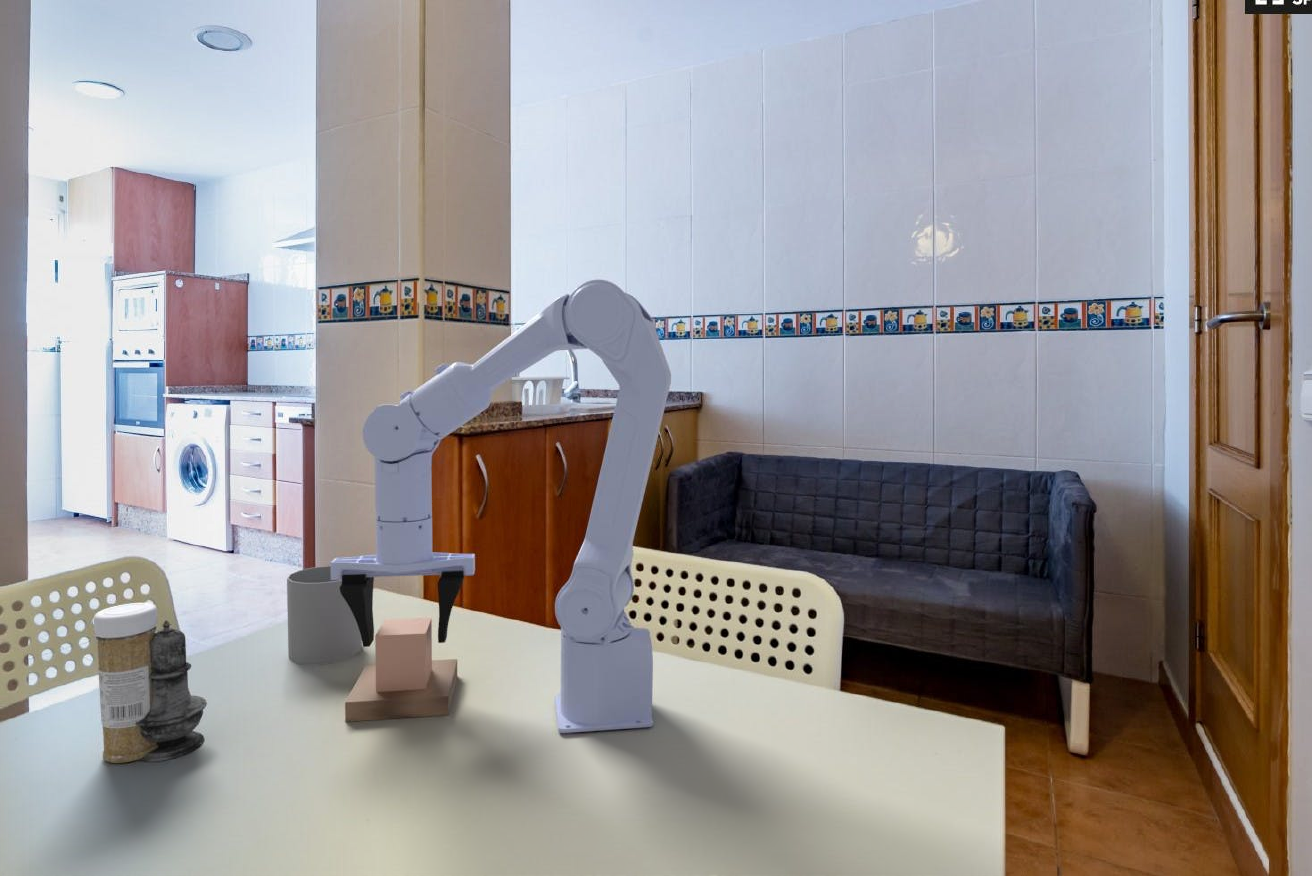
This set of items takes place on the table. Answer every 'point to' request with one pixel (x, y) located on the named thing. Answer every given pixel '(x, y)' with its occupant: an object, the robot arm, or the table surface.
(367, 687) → the board
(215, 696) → the table surface
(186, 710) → the salt shaker
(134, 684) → the sprinkles bottle
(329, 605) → the cup
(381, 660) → the block
